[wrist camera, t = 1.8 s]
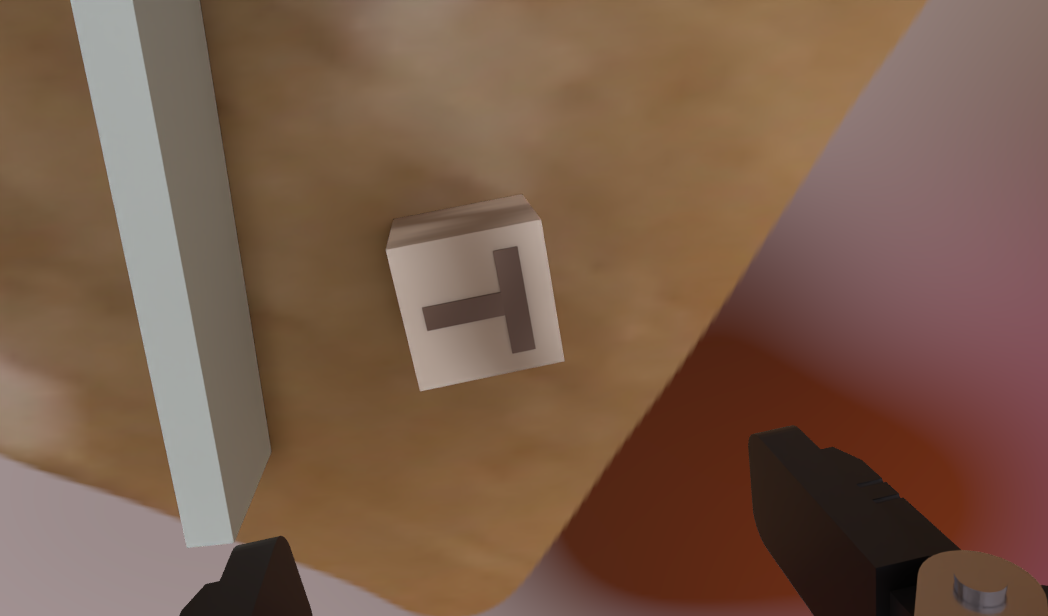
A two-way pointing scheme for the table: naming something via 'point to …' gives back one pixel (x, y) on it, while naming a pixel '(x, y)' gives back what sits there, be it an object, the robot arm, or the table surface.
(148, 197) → the screen
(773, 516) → the robot arm
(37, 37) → the table surface
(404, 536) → the table surface
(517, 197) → the letter cube
